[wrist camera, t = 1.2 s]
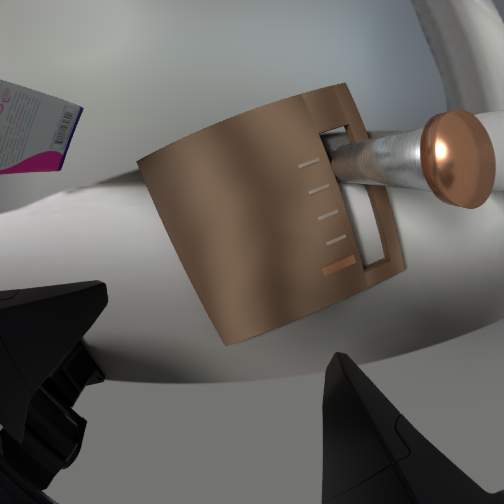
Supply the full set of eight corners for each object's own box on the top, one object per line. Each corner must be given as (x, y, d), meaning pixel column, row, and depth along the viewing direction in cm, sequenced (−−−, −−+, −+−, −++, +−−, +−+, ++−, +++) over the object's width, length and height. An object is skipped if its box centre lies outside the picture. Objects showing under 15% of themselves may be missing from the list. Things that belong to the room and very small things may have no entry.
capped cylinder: (330, 194, 20) (450, 222, 8) (314, 149, 19) (423, 117, 7) (369, 178, 20) (502, 193, 8) (354, 135, 19) (481, 105, 7)
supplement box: (42, 96, 16) (-45, 71, 5) (85, 108, 17) (-9, 74, 6) (20, 155, 18) (-71, 159, 7) (61, 173, 19) (-41, 182, 8)
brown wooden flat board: (225, 340, 23) (225, 347, 22) (140, 162, 19) (135, 161, 18) (398, 266, 22) (405, 270, 21) (340, 86, 18) (346, 82, 17)
